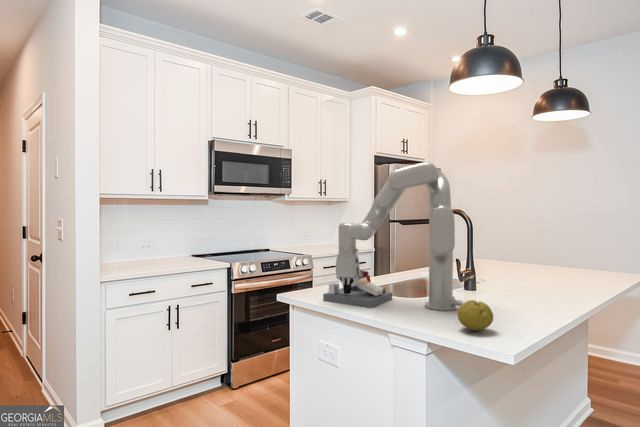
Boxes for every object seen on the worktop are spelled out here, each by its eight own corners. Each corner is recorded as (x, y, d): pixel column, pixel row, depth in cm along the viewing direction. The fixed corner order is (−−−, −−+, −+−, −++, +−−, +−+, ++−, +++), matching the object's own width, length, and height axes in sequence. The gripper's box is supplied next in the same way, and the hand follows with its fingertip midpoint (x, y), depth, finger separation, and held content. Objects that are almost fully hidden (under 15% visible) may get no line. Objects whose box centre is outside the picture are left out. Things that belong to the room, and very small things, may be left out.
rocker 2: (382, 293, 185) (383, 288, 184) (376, 296, 180) (377, 290, 179) (362, 284, 190) (364, 279, 189) (356, 286, 185) (358, 281, 184)
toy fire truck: (363, 294, 200) (363, 272, 200) (351, 290, 211) (351, 269, 211) (375, 293, 203) (375, 271, 202) (363, 288, 214) (363, 268, 214)
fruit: (451, 326, 147) (451, 297, 147) (484, 325, 147) (484, 297, 147) (463, 336, 136) (464, 305, 136) (499, 335, 136) (499, 304, 136)
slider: (338, 292, 188) (338, 283, 188) (334, 294, 184) (334, 285, 184) (333, 292, 189) (333, 283, 189) (328, 293, 186) (328, 284, 186)
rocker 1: (367, 282, 195) (366, 276, 196) (361, 284, 190) (359, 278, 191) (349, 286, 201) (348, 281, 201) (343, 288, 196) (341, 283, 196)
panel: (392, 299, 190) (392, 288, 190) (371, 308, 173) (372, 296, 173) (346, 293, 203) (346, 283, 203) (323, 300, 186) (323, 289, 186)
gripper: (366, 251, 182) (366, 293, 182) (337, 249, 190) (337, 290, 190) (358, 253, 175) (358, 296, 176) (328, 251, 184) (328, 292, 184)
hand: (347, 293), depth 183 cm, fingers closed
